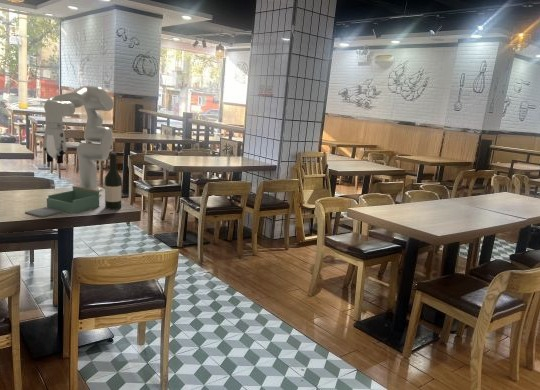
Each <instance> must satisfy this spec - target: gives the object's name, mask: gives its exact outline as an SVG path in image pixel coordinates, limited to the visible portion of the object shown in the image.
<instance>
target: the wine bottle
mask: <svg viewBox="0 0 540 390" xmlns="http://www.w3.org/2000/svg"><path fill="white" fill-rule="evenodd" d="M104 194H105V195H104V203H105V204H104V205H105V206H104V207H105V209H106V210H111V211H112V210H120V209H122V176H121V175H120V173H119V171H118V169H117V153H116V152H110V153H109V171H108V172H107V174H106V175H105V176H104Z"/></svg>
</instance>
